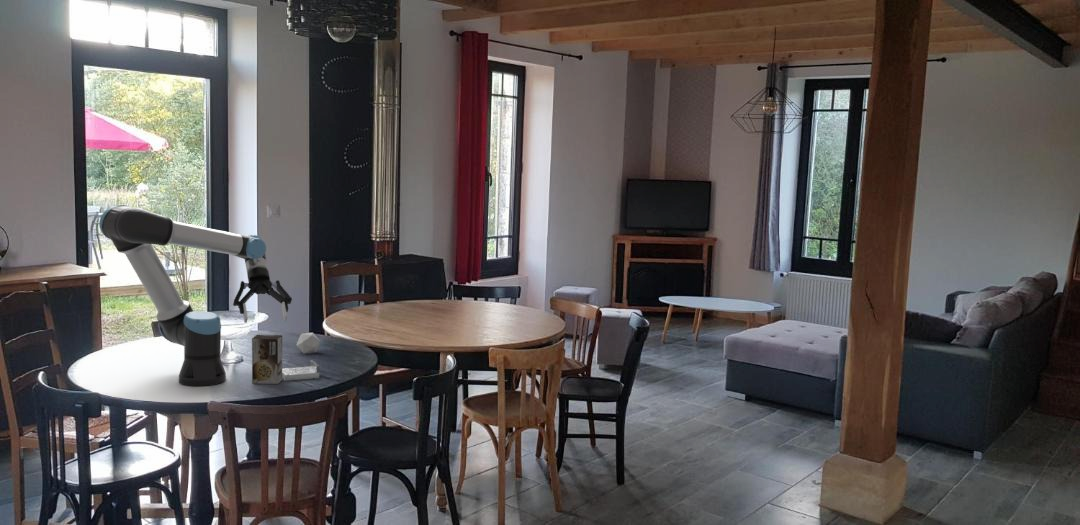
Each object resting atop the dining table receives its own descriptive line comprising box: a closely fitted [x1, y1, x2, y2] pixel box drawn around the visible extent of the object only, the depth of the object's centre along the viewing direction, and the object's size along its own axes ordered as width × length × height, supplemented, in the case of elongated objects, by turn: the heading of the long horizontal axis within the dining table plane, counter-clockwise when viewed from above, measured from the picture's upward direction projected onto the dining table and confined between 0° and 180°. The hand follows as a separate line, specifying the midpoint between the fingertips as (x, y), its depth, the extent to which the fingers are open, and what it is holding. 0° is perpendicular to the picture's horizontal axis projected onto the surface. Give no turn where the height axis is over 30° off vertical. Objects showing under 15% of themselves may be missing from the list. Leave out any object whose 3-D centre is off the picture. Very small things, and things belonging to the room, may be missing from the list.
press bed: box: [282, 359, 320, 382], centre depth 303 cm, size 12×10×4 cm
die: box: [296, 332, 321, 355], centre depth 340 cm, size 8×9×10 cm
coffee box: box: [251, 334, 283, 385], centre depth 293 cm, size 9×6×16 cm
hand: (266, 319), depth 300 cm, fingers open, 13 cm apart
